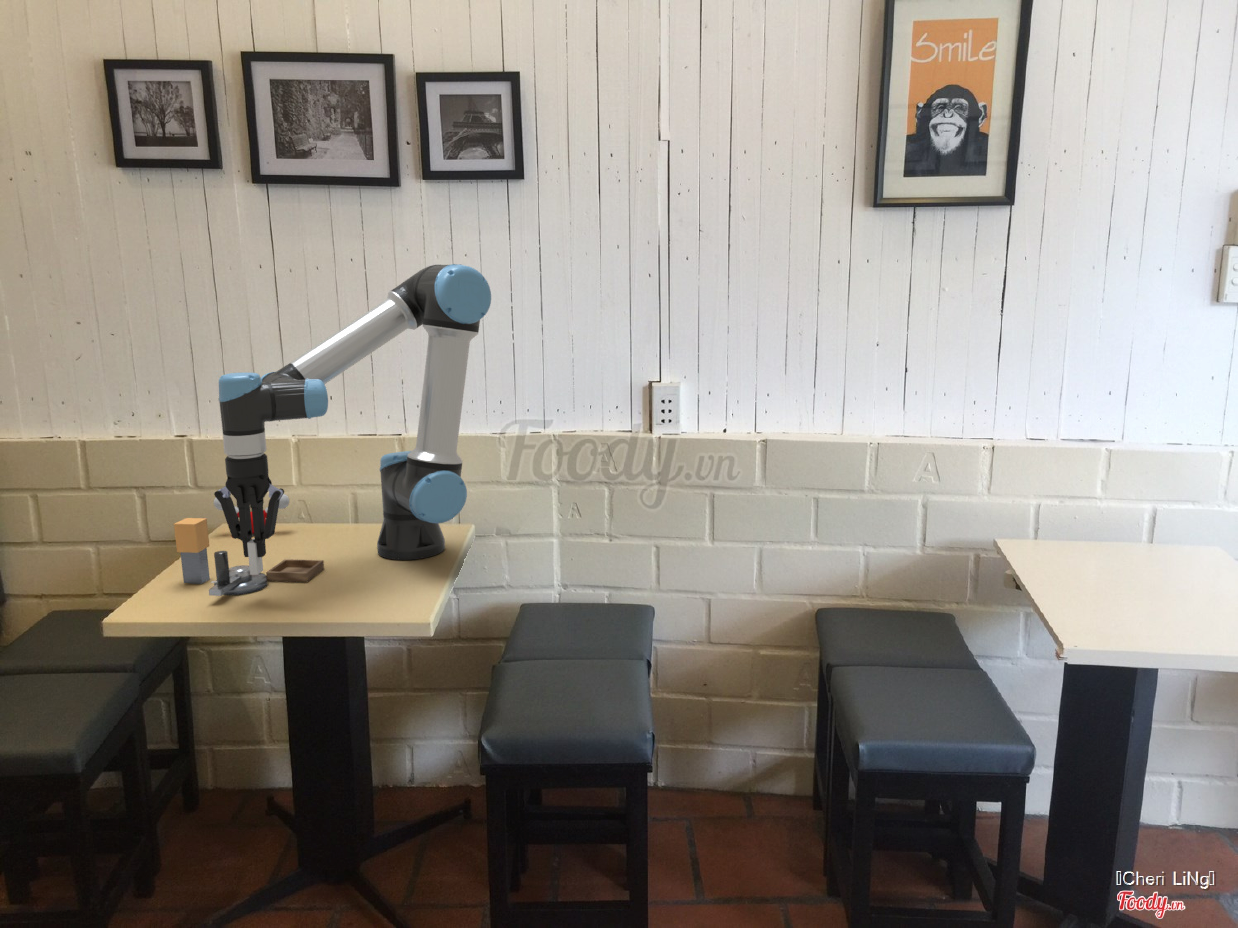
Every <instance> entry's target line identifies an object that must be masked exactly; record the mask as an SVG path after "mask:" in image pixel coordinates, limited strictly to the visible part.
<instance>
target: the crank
mask: <svg viewBox="0 0 1238 928" xmlns="http://www.w3.org/2000/svg"><path fill="white" fill-rule="evenodd" d="M213 556H214V566H215V575H216V580H217V584H216V585H215V586H214V585H213V586H212V587H211V588H209V589H208V595H209V596H216V597H217V596H218V597H219V596H224V595H223V594H224V593H226V592H227V591H229V590H230V589H232V588H233V587H235V586H236V585H238V584H239V583H245V582H249V581H251V580H252V575H250V568H249V565H246V564H245V565H243V564H242V565H235V566H232V567H230V564H229V555H228V551H227V550H219V551H215V552H214V553H213Z"/></svg>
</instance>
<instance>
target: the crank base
mask: <svg viewBox="0 0 1238 928" xmlns="http://www.w3.org/2000/svg"><path fill="white" fill-rule="evenodd" d="M210 583H211V584H213V586H215V585H216V584H217V579H216V580H212V581H211V582H210ZM267 586H268V581H267V576H266V573H263V572H260V573H259V574H258V575H252V580H251V581H249V582H245V583H239V584H238V585H236V586H235V587H233V588H232V589H230V590H229V591H227V592H226V593H224V594H223V595H222V596H242V595H249V594H253V593H257V592H259V591H262V590H264V589H265V588H266V587H267Z"/></svg>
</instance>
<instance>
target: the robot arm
mask: <svg viewBox="0 0 1238 928" xmlns="http://www.w3.org/2000/svg"><path fill="white" fill-rule="evenodd" d="M491 303H492V291H491V287H490V284H489V283H488V280H487V279H486V278H485V276H484V275H483V273H481V272H480V271H479V270H477V269H475V268H473V267H472V266H469V265H463V264H456V263H453V264H432V265H428V266H425V267H424V268H422V269H421V270H419V271H417V272H416V273H414V274H413V275H412V276H410V277H409V278H407V279H405V280H404V281H403V282H402V283H400V284H399V285H397V286H396V287H394V288H393V289H391V290H390V291H388V292H387V298H386V299H385V300H383V301H381V302H380V303H378V304H377V305H376V306H374V307H373V308H371V309H370V310H368V311H366V312H365V313H364V314H362V315H361V316H359V317H357V318H356V319H355V320H352V321H351V322H350V323H348V324H347V325H345V326H344V327H342V328H341V329H339V330H337V331H336V332H335V333H333V334H332V335H330V336H329V337H327V338H325V339H324V340H323V341H321V342H320V343H318V344H316V345H315V346H314V347H312V348H310V349H309V350H307V351H306V352H305V353H302V354H301V355H299V356H298V357H297V358H295V359H294V360H291V361H290V362H289V363H288V364H286V365H284V366H283V367H281V368H280V369H278V370H277V371H271V372H268V373H267V372H266V373H265V374H263V375H262V376H261V375H260V374H259V373H256V372H249V371H248V372H247V371H246V372H233V373H232V372H231V373H226V374H222V375H221V376H220V377H219V379H218V403H219V411H220V421H221V428H222V440H223V454H225V455H226V457H225V458H224V461H225V464H224V465H225V474H226V477H227V479H226V481H225V486H223V487H222V488H220V489H218V490H216V491H215V492H214V494H213V495H214V498H217V499H218V501H219V502H220V503H221V506H222V509H223V510H222V511H223V512H222V513H223V514H224V518H225V520H226V521H225V522H226V523H227V525H228V530H229V533H230V534H231V537H232V539H235V540H239V541H241V542H242V550H243V551H242V552H243V557H244V558H248V566H249V568H250V575H258V574H259V573H263V571H264V564H263V557H264V556H266V554H267V548H266V540H267V539H270V538H271V537H272V536H274V535H275V531H276V525H277V520H278V519H277V518H278V513H279V502H280V499H281V497H282V495H283V494H285V489H283V488H278V487H276V486H274V485H273V483H272V480H271V479H270V476H269V464H268V463H269V462H268V455H267V454H266V452H267V450H268V449H267V442H266V441H267V440H266V429H265V425H266V424H265V423H267V422H275V421H289V420H301V419H308V420H311V419H312V418H318V417H323V416H325V415H326V414H327V413H328V408H329V396H328V389H327V387H326V385H325V384H327V383H328V382H330V381H332V380H333V379H335V378H336V377H338V376H339V375H341V374H342V373H344V372H345V371H347V370H348V369H350V368H351V367H352V366H354V365H356V364H357V363H359V362H360V361H361V360H363V359H365V358H366V357H368V356H369V355H371V354H372V353H374V352H375V351H377V350H378V349H379V348H381V347H382V346H384V345H385V344H387V343H388V342H390V341H391V340H393V339H394V338H396V337H397V336H398V335H401V334H402V333H403V332H405V331H407V330H417V329H418V328H419V327H421V326H422V327H423V328H424V330H425V331H426V333H427V334H428V341H427V348H426V349H427V350H426V356H425V357H426V358H425V365H424V375H423V384H422V393H421V401H420V409H419V417H418V425H417V426H418V427H417V433H416V434H417V435H416V444H415V448H413V450H406V451H397V452H391V453H390V452H389V453H386V454H384V455H382V456H381V457H380V460H379V461H380V463H379V465H380V467H379V472H380V484H381V496H382V500H381V501H382V512H383V513H382V515H383V520H382V525H381V528H380V531H379V535H378V539H377V545H376V546H377V547H376V549H377V554H378V555H379V556H380V557H382V558H385V559H389V560H398V561H399V560H400V561H407V560H409V561H411V560H419V559H425V558H430V557H433V556H436V555H439V554H441V553H442V552H444V550H445V549H446V541H445V537H444V536H445V535H444V534H443V532H442V528H441V526H440V524H443V523H447V522H449V521H451V520H453V518H455V517H456V516H458V515H459V514H460V513H461V512H462V510H463V509H464V507H465V505H466V501H467V497H468V489H467V486H466V483H465V482H464V480H463V478H462V468H463V460H462V458H461V457H460V455H459V454H458V452H457V450H458V443H459V435H460V433H459V432H460V425H461V417H462V411H463V410H462V409H463V401H464V400H463V399H464V394H465V392H464V391H465V386H466V378H467V377H466V376H467V369H468V368H467V367H468V360H469V354H470V353H469V352H470V343H471V341H472V340H473V339H474V338H475V337H476V336H477V335H479V330H480V322H481V320H482V319H483V318H484V316H486V315H487V313H488V312H489V309H490V308H491ZM267 494H268V498H269V500H268V505H267V507H268V510H267V516H266V522H265V523H264V512H263V510H264V503H265V501H264V498H265V497H266V495H267ZM231 495H232V496H233V497H234V499H235V500H236V507H237V508H238V509H239V517H238V516H237V513H236V510H235V507H234V506H235V504H234V502H233V499H232V496H231ZM251 511H252V517H253V528H254V534H252V524H251V513H250V512H251ZM253 537H254V538H253Z"/></svg>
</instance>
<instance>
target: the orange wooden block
mask: <svg viewBox="0 0 1238 928" xmlns="http://www.w3.org/2000/svg"><path fill="white" fill-rule="evenodd" d="M208 527H209V526H208V518H204V517H203V518H202V517H196V518H195V517H184V518H183V519H181V520H180V521H179V520H178V521H177V522H175V523H173V528H174V536H175V537H174V538H175V544H176V545H175V547H176V553H180V552H190V553H198V552H200V551H202V550H204V549H205V548H209V547H210V539H209V529H208Z"/></svg>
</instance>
